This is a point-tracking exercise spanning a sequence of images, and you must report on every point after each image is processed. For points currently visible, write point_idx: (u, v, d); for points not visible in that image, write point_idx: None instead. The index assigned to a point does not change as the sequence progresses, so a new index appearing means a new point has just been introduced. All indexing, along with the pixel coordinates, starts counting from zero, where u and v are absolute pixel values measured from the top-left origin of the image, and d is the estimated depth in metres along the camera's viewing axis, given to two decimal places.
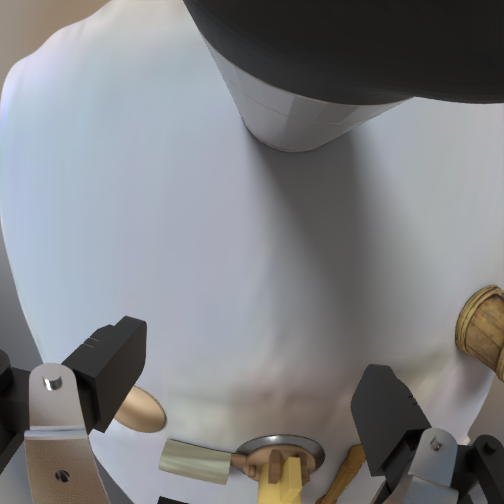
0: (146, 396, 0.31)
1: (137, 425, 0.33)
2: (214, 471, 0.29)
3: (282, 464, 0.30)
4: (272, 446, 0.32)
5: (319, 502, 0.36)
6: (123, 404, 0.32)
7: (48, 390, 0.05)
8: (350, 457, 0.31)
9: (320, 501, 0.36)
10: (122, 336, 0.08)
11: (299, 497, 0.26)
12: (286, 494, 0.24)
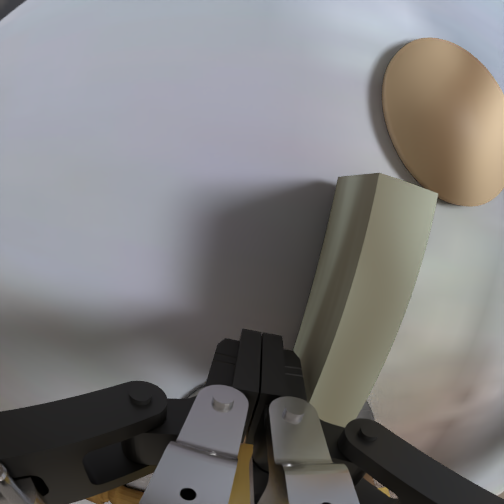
0: None
1: (413, 105, 0.10)
2: None
3: None
4: None
5: None
6: (473, 102, 0.10)
7: (229, 414, 0.06)
8: None
9: None
10: (253, 349, 0.09)
11: None
12: None
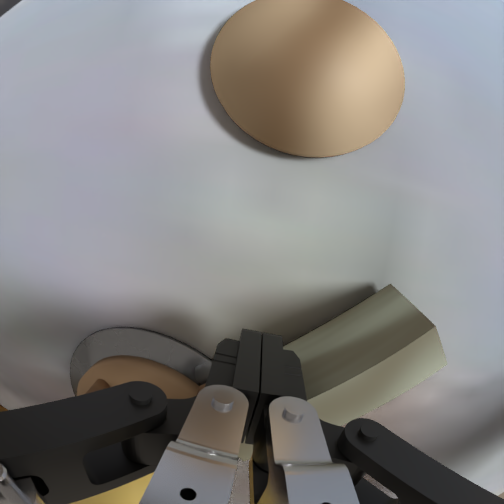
0: (388, 127, 0.11)
1: (241, 61, 0.11)
2: None
3: None
4: None
5: None
6: (330, 44, 0.10)
7: (229, 414, 0.06)
8: None
9: None
10: (253, 349, 0.09)
11: None
12: None
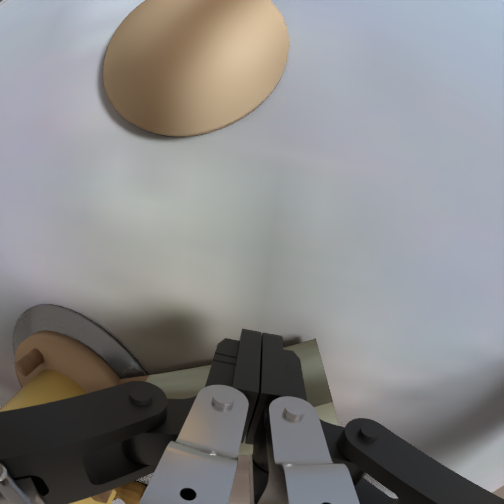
0: (264, 96, 0.11)
1: (127, 56, 0.11)
2: None
3: None
4: None
5: None
6: (209, 25, 0.10)
7: (228, 414, 0.06)
8: (137, 493, 0.17)
9: None
10: (253, 349, 0.09)
11: None
12: None
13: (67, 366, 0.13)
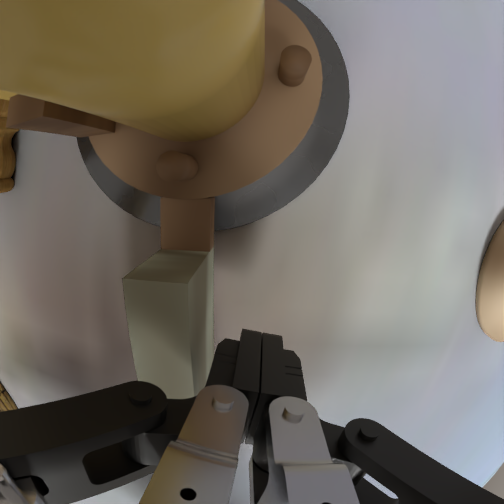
0: (486, 332, 0.13)
1: None
2: None
3: None
4: None
5: None
6: None
7: (229, 414, 0.06)
8: (0, 173, 0.11)
9: None
10: (254, 349, 0.09)
11: None
12: None
13: (262, 130, 0.10)
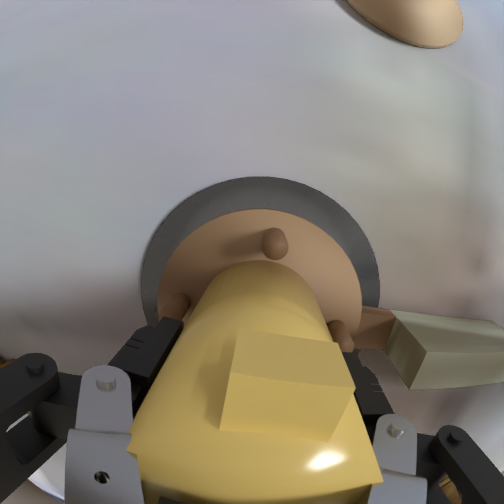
0: (458, 37, 0.11)
1: None
2: None
3: None
4: None
5: None
6: None
7: (105, 392, 0.05)
8: None
9: None
10: (165, 336, 0.08)
11: None
12: None
13: (321, 269, 0.13)
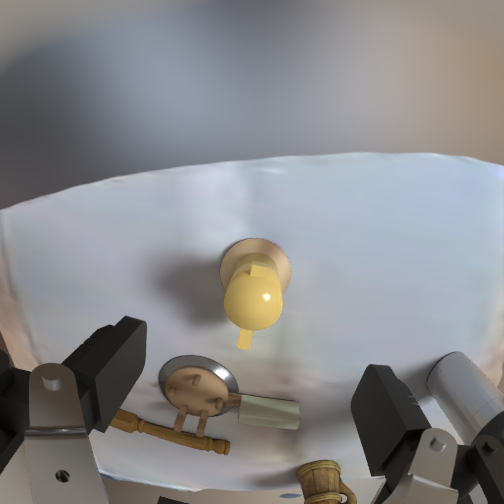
0: None
1: (231, 273, 0.38)
2: None
3: None
4: None
5: (135, 418, 0.44)
6: None
7: (48, 390, 0.05)
8: (223, 445, 0.44)
9: (136, 419, 0.45)
10: (122, 336, 0.08)
11: None
12: (250, 337, 0.32)
13: (212, 384, 0.40)
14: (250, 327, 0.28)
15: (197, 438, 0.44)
